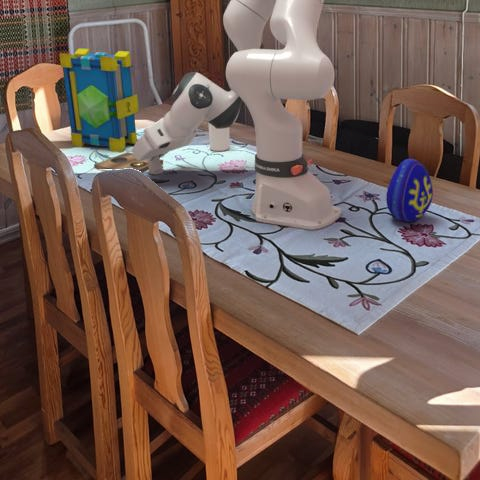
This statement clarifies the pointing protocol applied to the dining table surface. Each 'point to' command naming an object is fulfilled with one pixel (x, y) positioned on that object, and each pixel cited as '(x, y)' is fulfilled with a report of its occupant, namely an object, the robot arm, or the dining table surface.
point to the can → (219, 139)
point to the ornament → (409, 191)
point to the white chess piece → (155, 166)
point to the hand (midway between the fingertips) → (153, 157)
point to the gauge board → (123, 163)
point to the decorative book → (100, 98)
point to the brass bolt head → (138, 163)
